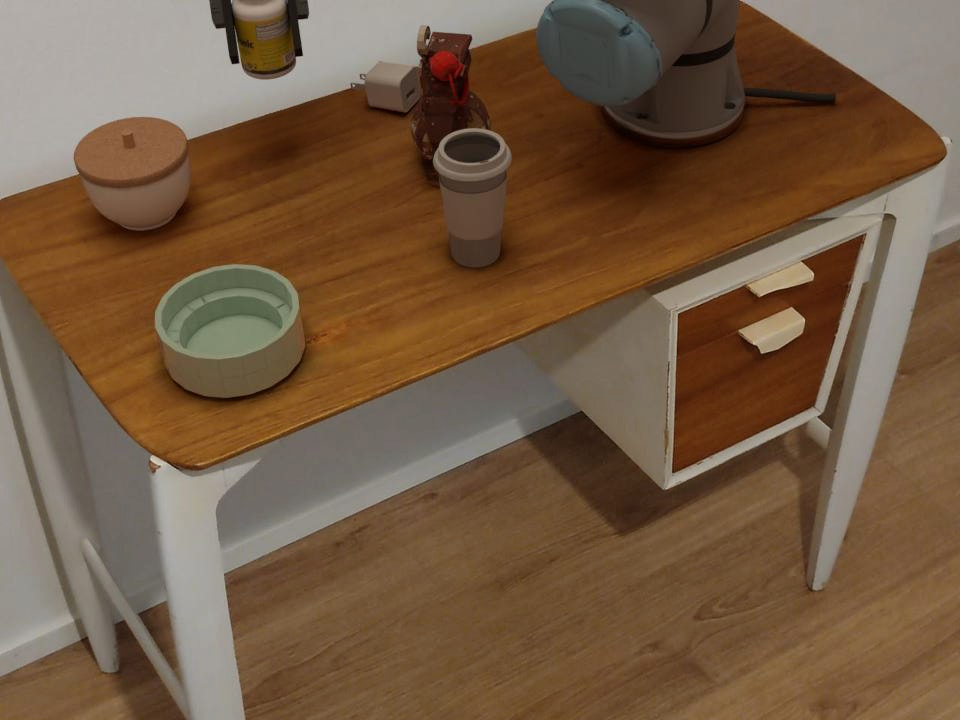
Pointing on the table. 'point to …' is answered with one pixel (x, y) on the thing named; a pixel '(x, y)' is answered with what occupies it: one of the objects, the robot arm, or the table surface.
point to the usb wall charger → (391, 86)
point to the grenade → (444, 95)
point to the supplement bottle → (264, 37)
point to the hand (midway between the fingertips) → (266, 55)
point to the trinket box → (135, 171)
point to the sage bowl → (230, 330)
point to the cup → (473, 193)
